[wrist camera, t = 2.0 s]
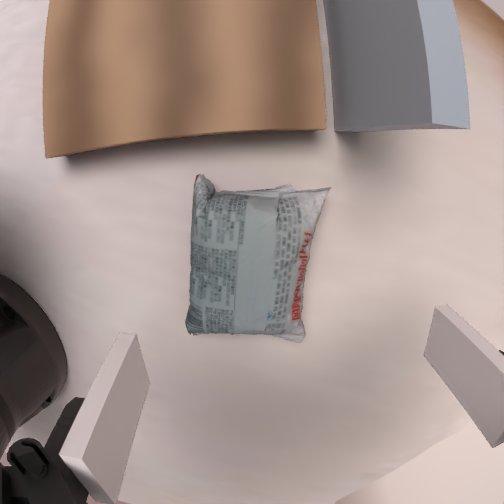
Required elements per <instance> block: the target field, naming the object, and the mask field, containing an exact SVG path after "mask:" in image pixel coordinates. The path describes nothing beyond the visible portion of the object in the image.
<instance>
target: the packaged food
mask: <svg viewBox="0 0 504 504" xmlns="http://www.w3.org/2000/svg"><path fill="white" fill-rule="evenodd" d="M294 189H295V188H294V187H292V186H291V185H284V186H280V187H277V188H276V189H266V190H263V189H262V190H253V191H237V192H233V191H224V190H223V191H221V192H215V188H214V185H213V184H212V183H211V182H210V181H209V180H208V179H206V178H205V176H204V175H201V174H199V175H197V176H196V180H195V185H194V194H193V207H192V227H191V267H192V268H191V273H190V290H189V292H190V305H189V309H188V313H187V317H186V321H185V323H186V328H187V330H188V333H190V335H191V333H193V335H198V334H209V333H230V334H232V335H233V334H254V335H255V334H268V335H273V336H277V337H281V338H284V339H286V340H290V341H294V342H297V343H300V342H302V340H303V338H304V336H305V330H304V325H303V322H302V320H301V312H302V308H303V305H302V303H303V288H304V280H305V272H306V266H307V263H308V261H309V258H310V254H309V249H310V246H311V240H312V239H313V234H314V231H315V226H316V223H317V220H318V218H319V215H320V211H321V208H322V206H323V202H324V200H325V198H326V196H327V194H328V192H329V190H330V187H328V188H322V189H316V190H303V191H295V190H294Z"/></svg>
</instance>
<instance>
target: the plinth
mask: <svg viewBox="0 0 504 504" xmlns="http://www.w3.org/2000/svg"><path fill="white" fill-rule="evenodd" d="M43 126H44V144H45V157H46V158H53V157H61V156H68V155H73V154H78V153H83V152H88V151H93V150H99V149H104V148H110V147H116V146H122V145H129V144H135V143H142V142H150V141H157V140H166V139H174V138H183V137H193V136H204V135H216V134H231V133H248V132H272V131H316V130H322V129H326V113H325V95H324V81H323V68H322V56H321V45H320V35H319V25H318V16H317V8H316V0H50V3H49V10H48V17H47V26H46V36H45V48H44V65H43Z"/></svg>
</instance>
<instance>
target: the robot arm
mask: <svg viewBox="0 0 504 504" xmlns="http://www.w3.org/2000/svg"><path fill="white" fill-rule="evenodd" d="M424 357H425V358H426V359H427V360H428V362H429V363H430V364H431V365H432V367H433V368H434V369H435V371H436V372H437V373H438V374H439V376H440V377H441V378H442V380H443V381H444V382H445V384H446V385H447V386H448V387H449V389H450V390H451V391H452V393H453V394H454V395H455V397H456V398H457V399H458V401H459V402H460V403H461V405H462V406H463V407H464V409H465V410H466V412H467V413H468V414H469V416H470V417H471V418H472V420H473V421H474V422H475V424H476V425H477V427H478V428H479V430H480V431H481V432H482V434H483V435H484V437H485V438H486V440H487V441H488V442H489V444H490V445H491V447H492V448H494V447H496V446H498V445H500V444H501V443H503V442H504V352H503V351H501V350H499V351H498V350H497V349H496V348H495V347H494V346H493V345H492V344H491V343H490V342H489V341H488V340H487V339H486V338H484V337H483V336H482V335H481V334H480V333H479V332H478V331H477V330H476V329H475V328H473V327H472V326H471V325H470V324H469V323H468V322H467V321H466V320H465V319H463V318H462V317H461V316H460V315H459V314H458V313H457V312H455V311H454V310H453V309H452V308H451V307H450V306H449V305H442V306H437V307H435V309H434V314H433V319H432V323H431V328H430V332H429V336H428V340H427V344H426V348H425V352H424ZM66 375H67V363H66V357H65V353H64V350H63V347H62V344H61V341H60V339H59V337H58V335H57V333H56V331H55V329H54V327H53V325H52V324H51V322H50V321H49V319H48V318H47V316H46V315H45V313H44V312H43V311H42V309H41V308H40V307H39V306H38V304H37V303H36V302H35V301H34V300H33V299H32V298H31V297H30V296H29V295H28V294H27V293H26V292H25V291H24V290H23V289H22V288H20V287H19V286H18V285H16V284H15V283H14V282H12V281H11V280H9V279H7V278H5V277H3V276H1V275H0V459H1V457H2V455H3V453H4V451H5V449H6V447H7V445H8V443H9V442H10V440H11V438H12V436H13V434H14V433H15V431H16V430H17V428H19V427H20V426H21V425H23V424H24V423H26V422H27V421H28V420H30V419H31V418H33V417H34V416H35V415H37V414H38V413H39V412H40V411H41V410H43V409H45V408H46V407H48V406H49V405H50V404H51V403H52V402H53V401H54V400H55V399H56V397H57V395H58V394H59V392H60V390H61V388H62V387H63V385H64V383H65V380H66ZM149 385H150V381H149V378H148V375H147V371H146V368H145V364H144V361H143V357H142V353H141V350H140V346H139V342H138V338H137V334H136V333H119V335H118V337H117V339H116V341H115V342H114V344H113V346H112V348H111V350H110V352H109V353H108V355H107V357H106V359H105V361H104V363H103V365H102V367H101V369H100V370H99V372H98V374H97V376H96V378H95V380H94V382H93V384H92V386H91V388H90V390H89V392H88V394H87V396H86V398H78V397H75V398H74V399H73V400H71V401H70V402H69V403H68V404H67V405H66V406H65V408H64V410H63V412H62V414H61V415H60V416H61V417H60V418H59V419H58V421H57V423H56V426H55V427H54V429H53V431H52V433H51V435H50V437H49V439H48V441H47V443H46V445H45V447H44V448H43V446H42V445H41V444H40V442H38V441H37V440H35V439H31V438H25V439H20V440H18V441H16V442H15V443H14V444H13V445H12V446H11V447H10V448H9V450H8V453H7V460H8V462H9V463H10V464H11V465H12V466H10V467H9V466H3V465H2V464H1V463H0V504H87V502H86V500H87V497H88V494H90V496H91V497H92V498H93V499H94V500H95V501H97V502H101V503H106V504H117V500H118V495H119V491H120V488H121V484H122V480H123V476H124V472H125V468H126V464H127V461H128V457H129V453H130V450H131V446H132V443H133V439H134V436H135V432H136V429H137V425H138V422H139V418H140V415H141V411H142V408H143V405H144V401H145V398H146V395H147V392H148V388H149Z"/></svg>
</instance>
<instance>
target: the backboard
mask: <svg viewBox="0 0 504 504" xmlns="http://www.w3.org/2000/svg"><path fill="white" fill-rule="evenodd" d="M323 1H324V8H325V16H326V25H327V34H328V43H329V54H330V65H331V77H332V91H333V108H334V128H335V131H348V132H368V131H384V130H407V129H470V114H469V99H468V87H467V78H466V69H465V62H464V55H463V48H462V42H461V36H460V31H459V26H458V21H457V16H456V12H455V8H454V3H453V0H323Z"/></svg>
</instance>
